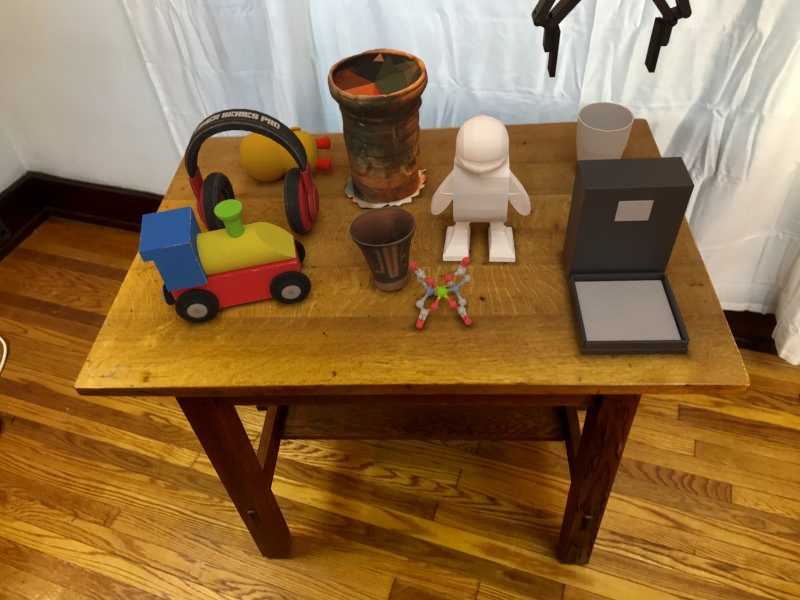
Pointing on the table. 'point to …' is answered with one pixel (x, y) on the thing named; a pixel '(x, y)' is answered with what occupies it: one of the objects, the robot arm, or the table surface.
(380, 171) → the vessel
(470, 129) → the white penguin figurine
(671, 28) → the robot arm
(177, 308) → the toy train
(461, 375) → the table surface
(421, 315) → the molecular model
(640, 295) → the open gift box
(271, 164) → the toy
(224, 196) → the headphones
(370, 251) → the cup
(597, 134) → the cup
